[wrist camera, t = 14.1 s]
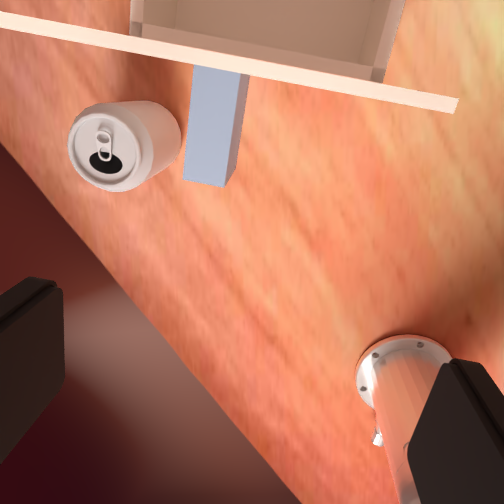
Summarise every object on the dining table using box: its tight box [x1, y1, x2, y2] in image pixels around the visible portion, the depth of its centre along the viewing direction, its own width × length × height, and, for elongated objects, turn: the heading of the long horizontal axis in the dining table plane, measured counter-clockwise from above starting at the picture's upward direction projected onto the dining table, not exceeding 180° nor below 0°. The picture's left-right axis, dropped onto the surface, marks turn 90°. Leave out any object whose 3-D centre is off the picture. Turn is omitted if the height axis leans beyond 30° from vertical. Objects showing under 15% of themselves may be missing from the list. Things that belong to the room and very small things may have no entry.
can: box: [67, 100, 181, 192], centre depth 38 cm, size 8×8×12 cm
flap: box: [0, 11, 459, 187], centre depth 25 cm, size 16×20×6 cm
